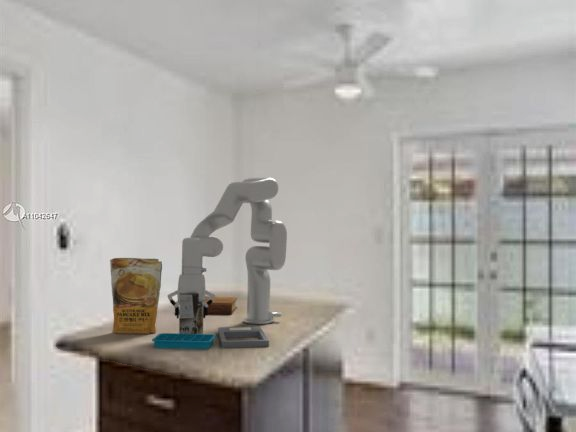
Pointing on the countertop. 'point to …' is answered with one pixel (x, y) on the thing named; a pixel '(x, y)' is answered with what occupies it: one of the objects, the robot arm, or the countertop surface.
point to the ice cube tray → (183, 341)
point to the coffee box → (190, 314)
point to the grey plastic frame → (242, 332)
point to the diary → (221, 305)
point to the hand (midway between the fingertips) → (191, 317)
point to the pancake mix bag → (135, 294)
